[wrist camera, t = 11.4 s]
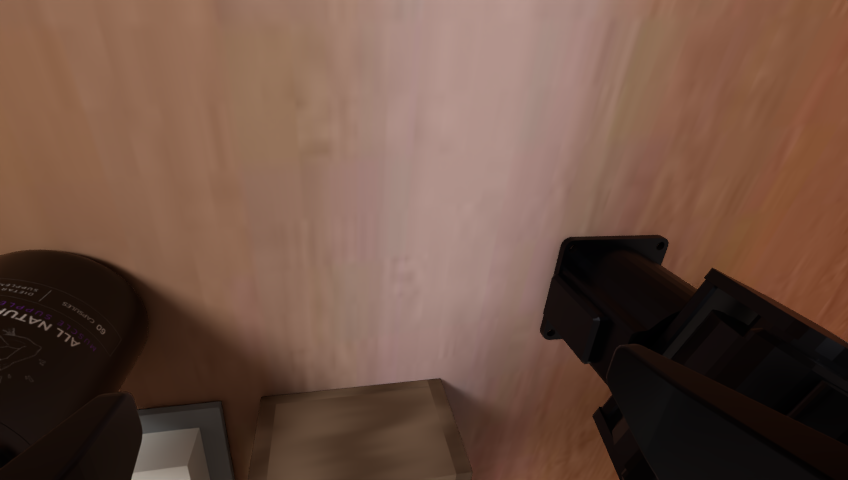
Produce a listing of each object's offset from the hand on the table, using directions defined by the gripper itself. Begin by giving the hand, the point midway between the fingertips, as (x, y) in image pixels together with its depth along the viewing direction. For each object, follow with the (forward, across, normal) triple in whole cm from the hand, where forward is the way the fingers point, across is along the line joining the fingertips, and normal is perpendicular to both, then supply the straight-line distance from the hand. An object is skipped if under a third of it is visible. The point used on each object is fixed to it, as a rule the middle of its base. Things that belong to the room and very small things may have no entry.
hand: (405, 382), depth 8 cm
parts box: (+12, 0, +17) cm, 21 cm away
